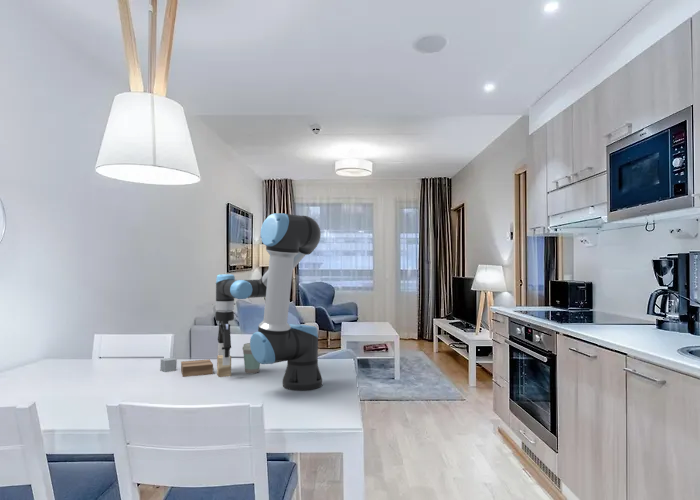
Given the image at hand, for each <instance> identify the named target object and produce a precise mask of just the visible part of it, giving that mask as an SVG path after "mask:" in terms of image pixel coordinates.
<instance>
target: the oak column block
mask: <svg viewBox="0 0 700 500" xmlns="http://www.w3.org/2000/svg"><path fill="white" fill-rule="evenodd" d="M216 357H217V360H216V361H217V362H216V364H217V365H216V366H217V367H216V376H217V377H218V378H224V377H225V378H226V376H227V377H232V355H230V365H223V355H218V354H217V356H216Z"/></svg>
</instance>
